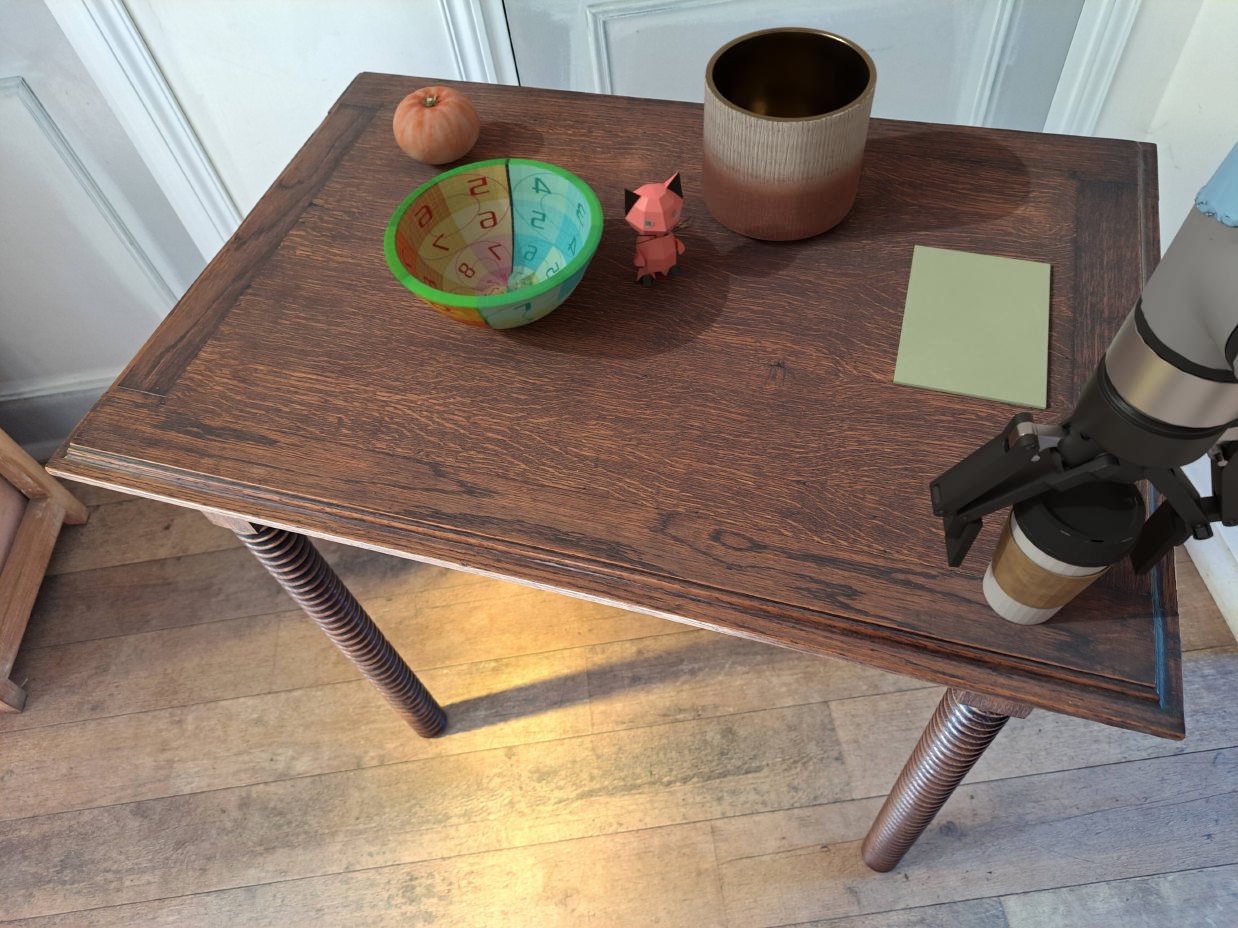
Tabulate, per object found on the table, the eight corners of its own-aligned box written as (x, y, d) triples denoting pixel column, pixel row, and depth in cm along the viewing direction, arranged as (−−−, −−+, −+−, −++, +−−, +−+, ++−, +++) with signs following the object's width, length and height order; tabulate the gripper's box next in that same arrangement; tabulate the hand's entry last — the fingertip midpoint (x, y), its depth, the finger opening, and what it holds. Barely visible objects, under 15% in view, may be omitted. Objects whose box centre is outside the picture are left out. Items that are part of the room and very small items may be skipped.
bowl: (583, 388, 86) (572, 317, 78) (379, 360, 90) (348, 291, 82) (630, 240, 98) (625, 165, 90) (448, 221, 102) (427, 149, 94)
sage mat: (1044, 409, 81) (1046, 407, 80) (893, 383, 84) (893, 380, 83) (1049, 266, 91) (1050, 263, 91) (914, 247, 94) (915, 245, 94)
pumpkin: (478, 178, 107) (465, 121, 100) (394, 180, 108) (375, 123, 101) (491, 126, 113) (479, 69, 106) (411, 128, 114) (394, 71, 107)
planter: (688, 239, 98) (688, 115, 85) (715, 145, 107) (719, 20, 94) (847, 256, 94) (872, 130, 81) (860, 157, 104) (884, 30, 91)
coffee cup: (969, 633, 69) (1030, 541, 56) (963, 541, 73) (1018, 439, 61) (1080, 646, 68) (1167, 556, 55) (1067, 552, 72) (1145, 450, 60)
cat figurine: (638, 299, 93) (632, 210, 83) (615, 260, 96) (606, 170, 87) (697, 279, 94) (698, 189, 84) (672, 242, 98) (670, 150, 88)
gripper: (1383, 333, 49) (1200, 519, 67) (936, 327, 52) (873, 507, 69) (1442, 440, 45) (1230, 607, 63) (952, 427, 47) (881, 592, 65)
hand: (1042, 555), depth 66 cm, fingers open, 13 cm apart
